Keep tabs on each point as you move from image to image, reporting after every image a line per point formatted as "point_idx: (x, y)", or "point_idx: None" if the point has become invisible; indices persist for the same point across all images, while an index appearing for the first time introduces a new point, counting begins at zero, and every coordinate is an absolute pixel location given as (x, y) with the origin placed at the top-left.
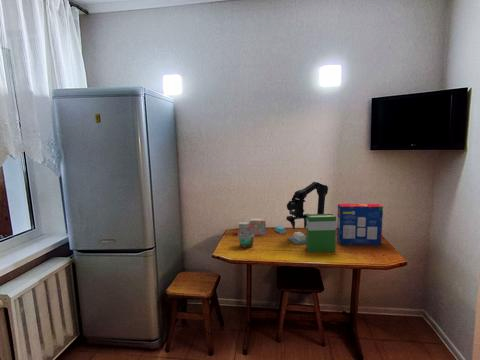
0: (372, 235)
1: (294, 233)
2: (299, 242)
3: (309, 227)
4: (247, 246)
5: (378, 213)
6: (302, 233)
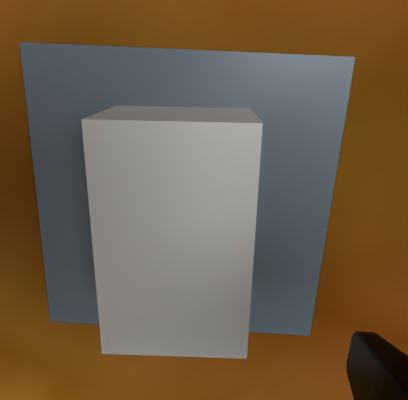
0: None
1: (88, 153)
2: None
3: None
4: None
5: None
6: (251, 259)
